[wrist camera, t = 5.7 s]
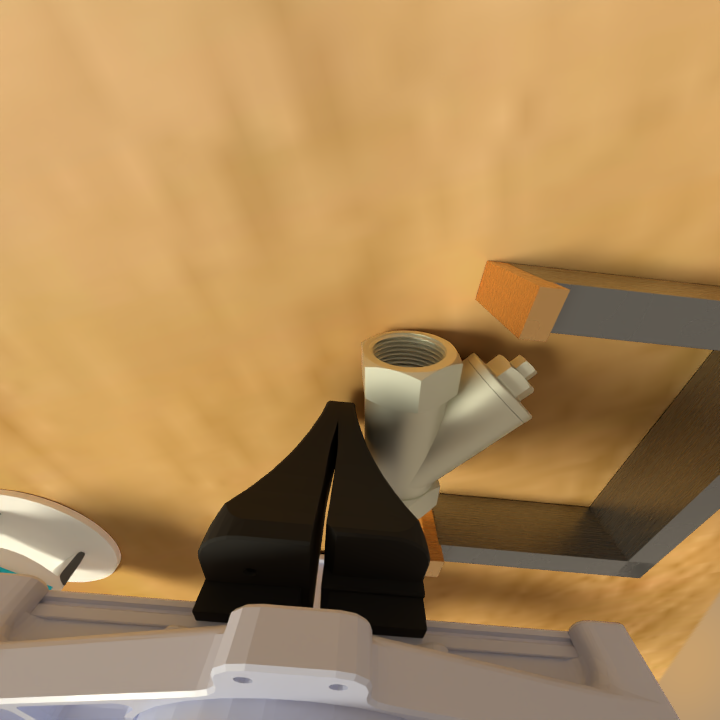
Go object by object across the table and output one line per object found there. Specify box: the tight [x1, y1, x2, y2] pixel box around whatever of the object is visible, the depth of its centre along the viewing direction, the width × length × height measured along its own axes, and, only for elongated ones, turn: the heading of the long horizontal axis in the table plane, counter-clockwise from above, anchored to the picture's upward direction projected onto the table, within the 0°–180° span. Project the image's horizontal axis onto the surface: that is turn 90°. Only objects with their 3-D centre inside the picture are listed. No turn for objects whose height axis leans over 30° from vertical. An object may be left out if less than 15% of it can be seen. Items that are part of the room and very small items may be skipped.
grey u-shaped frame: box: [418, 261, 720, 578], centre depth 13 cm, size 15×12×4 cm
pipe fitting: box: [362, 330, 537, 519], centre depth 12 cm, size 8×4×7 cm
